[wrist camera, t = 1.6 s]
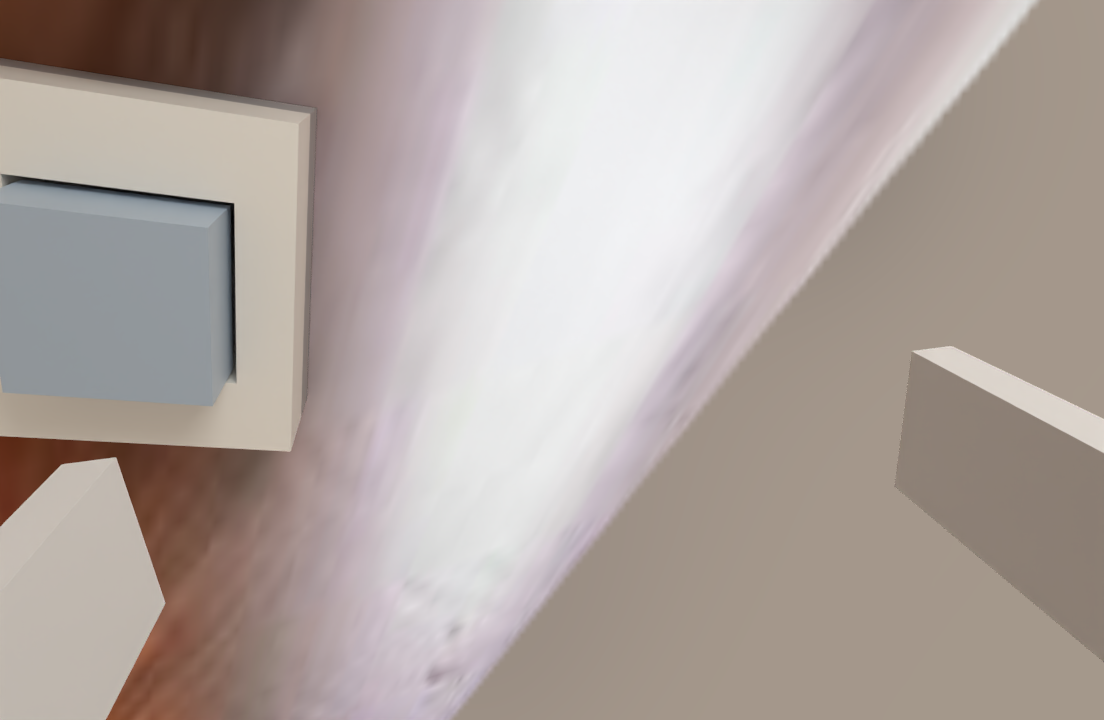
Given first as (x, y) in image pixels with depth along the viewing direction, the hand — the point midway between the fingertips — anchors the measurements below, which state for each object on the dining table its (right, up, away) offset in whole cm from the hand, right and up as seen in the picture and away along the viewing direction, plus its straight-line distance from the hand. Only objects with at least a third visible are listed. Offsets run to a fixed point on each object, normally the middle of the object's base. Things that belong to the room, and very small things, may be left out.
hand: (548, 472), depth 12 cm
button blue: (-16, +5, +16) cm, 23 cm away
